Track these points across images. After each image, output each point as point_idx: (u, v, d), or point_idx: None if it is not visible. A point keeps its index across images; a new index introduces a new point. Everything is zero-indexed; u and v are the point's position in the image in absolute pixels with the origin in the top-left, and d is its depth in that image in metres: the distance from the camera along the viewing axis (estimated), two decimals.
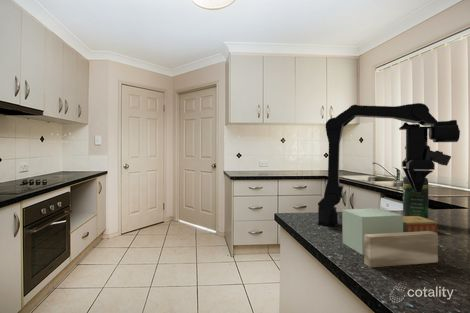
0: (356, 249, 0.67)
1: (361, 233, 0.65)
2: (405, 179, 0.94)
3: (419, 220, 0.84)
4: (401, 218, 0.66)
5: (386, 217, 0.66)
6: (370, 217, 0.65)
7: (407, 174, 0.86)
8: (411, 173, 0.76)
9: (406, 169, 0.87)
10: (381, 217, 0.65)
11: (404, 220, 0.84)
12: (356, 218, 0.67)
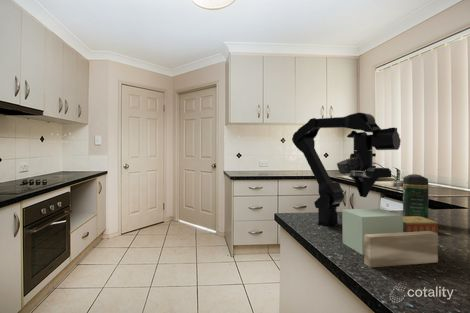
0: (356, 249, 0.67)
1: (361, 233, 0.65)
2: (405, 179, 0.94)
3: (419, 220, 0.83)
4: (401, 218, 0.66)
5: (386, 217, 0.66)
6: (370, 217, 0.65)
7: None
8: None
9: None
10: (381, 217, 0.65)
11: (404, 220, 0.84)
12: (356, 218, 0.67)
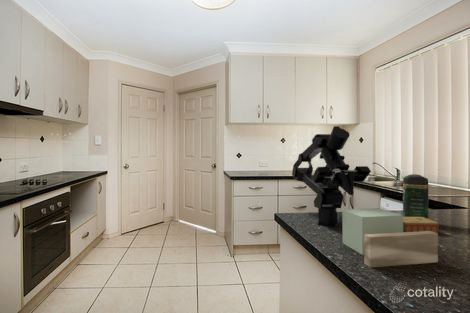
0: (356, 249, 0.67)
1: (361, 233, 0.65)
2: (405, 179, 0.94)
3: (420, 220, 0.83)
4: (401, 218, 0.66)
5: (386, 217, 0.66)
6: (370, 217, 0.65)
7: None
8: None
9: None
10: (381, 217, 0.65)
11: (404, 220, 0.84)
12: (356, 218, 0.67)
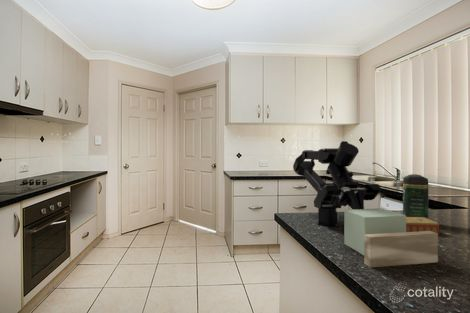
0: (358, 250, 0.66)
1: (363, 234, 0.64)
2: (405, 179, 0.94)
3: (420, 221, 0.83)
4: (404, 218, 0.65)
5: (389, 217, 0.65)
6: (373, 217, 0.64)
7: None
8: None
9: None
10: (384, 217, 0.64)
11: None
12: (358, 218, 0.66)
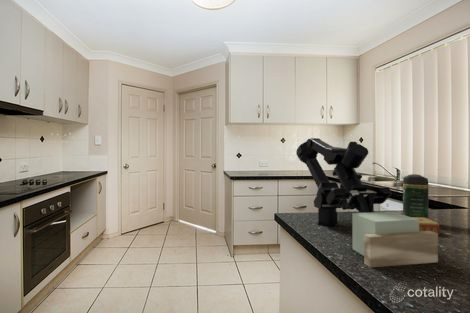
0: None
1: None
2: (405, 179, 0.94)
3: (420, 221, 0.83)
4: (417, 223, 0.61)
5: (401, 222, 0.61)
6: (384, 222, 0.60)
7: None
8: None
9: None
10: (396, 222, 0.60)
11: None
12: (368, 223, 0.62)
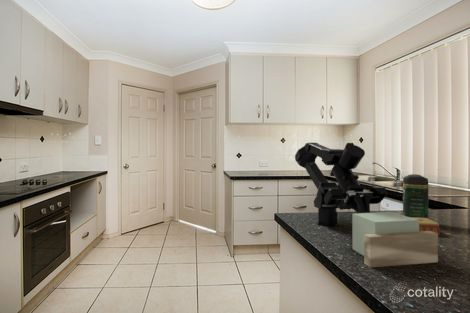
0: None
1: None
2: (405, 179, 0.94)
3: (420, 221, 0.82)
4: (417, 223, 0.61)
5: (401, 222, 0.61)
6: (384, 222, 0.60)
7: None
8: None
9: None
10: (396, 222, 0.60)
11: None
12: (368, 223, 0.62)
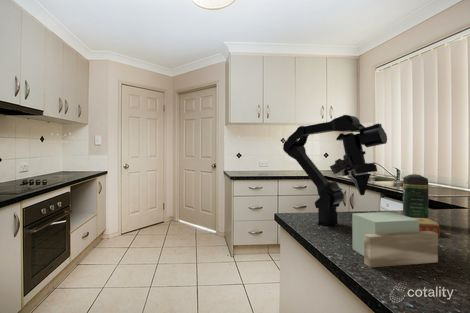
0: None
1: None
2: (405, 179, 0.94)
3: (420, 221, 0.82)
4: (417, 223, 0.61)
5: (401, 222, 0.61)
6: (384, 222, 0.60)
7: None
8: None
9: None
10: (396, 222, 0.60)
11: None
12: (368, 223, 0.62)
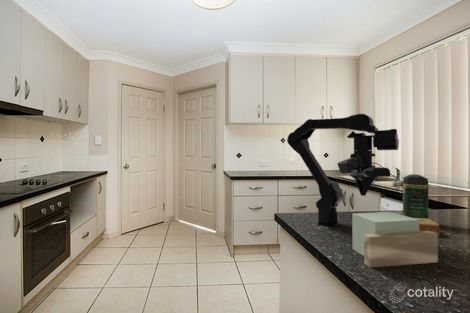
0: None
1: None
2: (405, 179, 0.94)
3: (420, 221, 0.82)
4: (417, 223, 0.61)
5: (401, 222, 0.61)
6: (384, 222, 0.60)
7: None
8: None
9: None
10: (395, 222, 0.60)
11: None
12: (368, 223, 0.62)
